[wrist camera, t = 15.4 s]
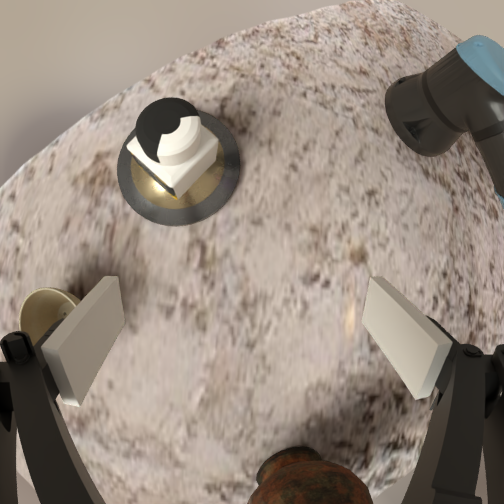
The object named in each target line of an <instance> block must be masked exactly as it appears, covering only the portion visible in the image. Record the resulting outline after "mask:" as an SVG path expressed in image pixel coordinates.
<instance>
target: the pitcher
mask: <svg viewBox="0 0 504 504" xmlns="http://www.w3.org/2000/svg"><path fill="white" fill-rule="evenodd" d="M256 480H257V483H258V485H259V486H258V488H257V489H256V490H255V491H254V493H253V494H252V495H251V497H250V499H249V501H248V503H247V504H373V501H372V498H371V495H370V493H369V490H368V487H367V486H366V485H365V484H364V483H363V481H361V480H360V479H359V478H358V477H357V476H356V475H355V474H354V473H353V472H352V471H350V470H349V469H347V468H345V467H343V466H340V465H337V464H334V463H331V462H328V461H321V458H320V455H319V454H318V453H317V452H316V451H315V450H314V449H311V448H307V447H295V448H290V449H286V450H283V451H281V452H279V453H277V454H275V455H273V456H272V457H270V458H269V459H268V460H266V461H265V462H264V463H263V465H262V466H261V467H260V469H259V471H258V473H257V478H256Z"/></svg>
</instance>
